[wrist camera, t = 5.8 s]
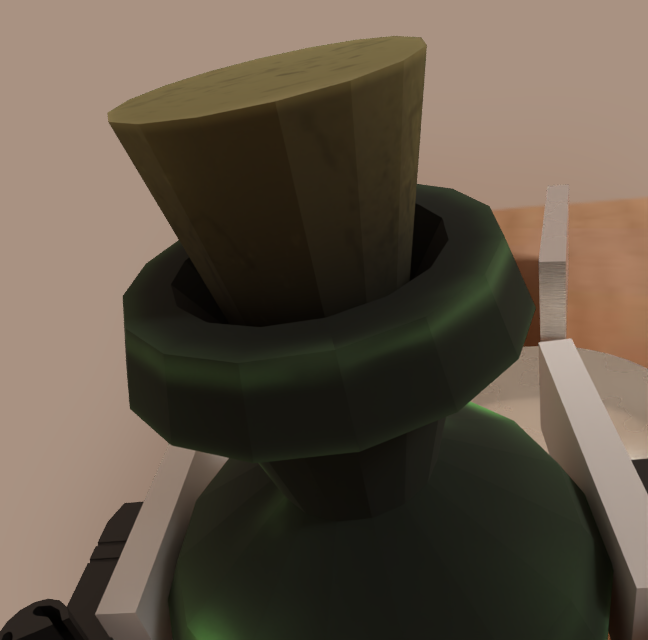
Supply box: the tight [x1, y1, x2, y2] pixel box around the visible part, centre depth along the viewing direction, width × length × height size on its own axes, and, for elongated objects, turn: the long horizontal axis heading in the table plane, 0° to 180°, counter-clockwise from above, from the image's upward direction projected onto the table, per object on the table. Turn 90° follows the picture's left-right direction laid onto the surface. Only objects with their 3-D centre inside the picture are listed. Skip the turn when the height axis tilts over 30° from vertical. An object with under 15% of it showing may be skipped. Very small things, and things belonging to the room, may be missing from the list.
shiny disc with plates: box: [470, 184, 648, 460], centre depth 25 cm, size 19×24×5 cm
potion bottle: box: [108, 36, 614, 640], centre depth 12 cm, size 8×8×18 cm
